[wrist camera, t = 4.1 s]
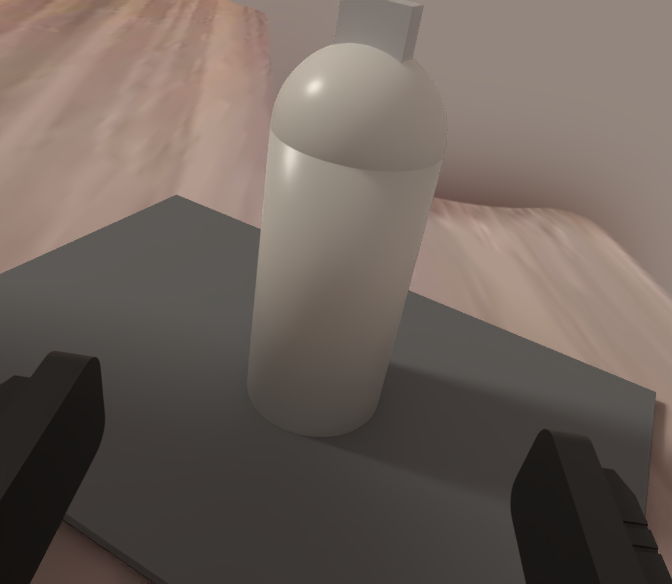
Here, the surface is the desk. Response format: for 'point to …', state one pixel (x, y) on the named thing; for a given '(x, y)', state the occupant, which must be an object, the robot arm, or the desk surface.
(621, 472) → the desk mat
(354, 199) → the white domed bottle
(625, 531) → the robot arm
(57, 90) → the desk surface
